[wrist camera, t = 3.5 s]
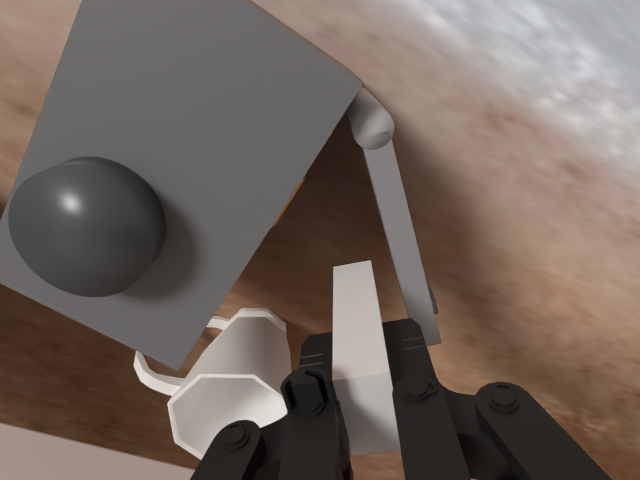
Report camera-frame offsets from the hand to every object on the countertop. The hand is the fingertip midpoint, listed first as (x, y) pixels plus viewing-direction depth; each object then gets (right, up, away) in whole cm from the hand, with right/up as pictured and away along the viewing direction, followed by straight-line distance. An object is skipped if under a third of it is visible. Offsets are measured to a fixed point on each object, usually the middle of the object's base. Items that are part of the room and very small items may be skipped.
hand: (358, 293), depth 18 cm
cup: (-7, -4, +13) cm, 15 cm away
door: (+2, +6, +7) cm, 9 cm away
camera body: (-7, +8, +7) cm, 13 cm away
